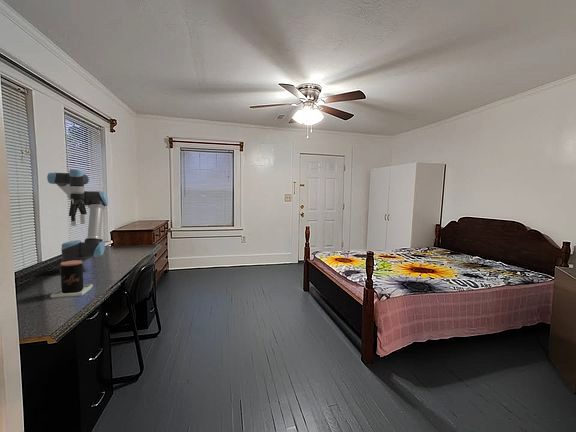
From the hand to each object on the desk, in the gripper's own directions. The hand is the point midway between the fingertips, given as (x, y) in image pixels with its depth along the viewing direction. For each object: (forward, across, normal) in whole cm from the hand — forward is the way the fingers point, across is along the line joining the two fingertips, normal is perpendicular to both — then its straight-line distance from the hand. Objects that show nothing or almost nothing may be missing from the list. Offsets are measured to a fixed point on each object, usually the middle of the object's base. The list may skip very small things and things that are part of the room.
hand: (78, 225), depth 187 cm
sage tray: (+39, +22, +4) cm, 45 cm away
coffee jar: (+38, +22, +4) cm, 44 cm away
